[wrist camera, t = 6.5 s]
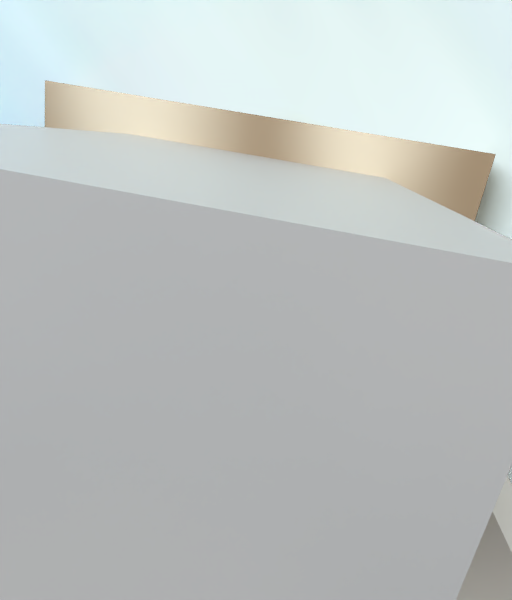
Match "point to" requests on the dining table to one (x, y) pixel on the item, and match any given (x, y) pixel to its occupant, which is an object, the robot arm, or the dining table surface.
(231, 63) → the dining table surface
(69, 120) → the mount board
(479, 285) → the socket
